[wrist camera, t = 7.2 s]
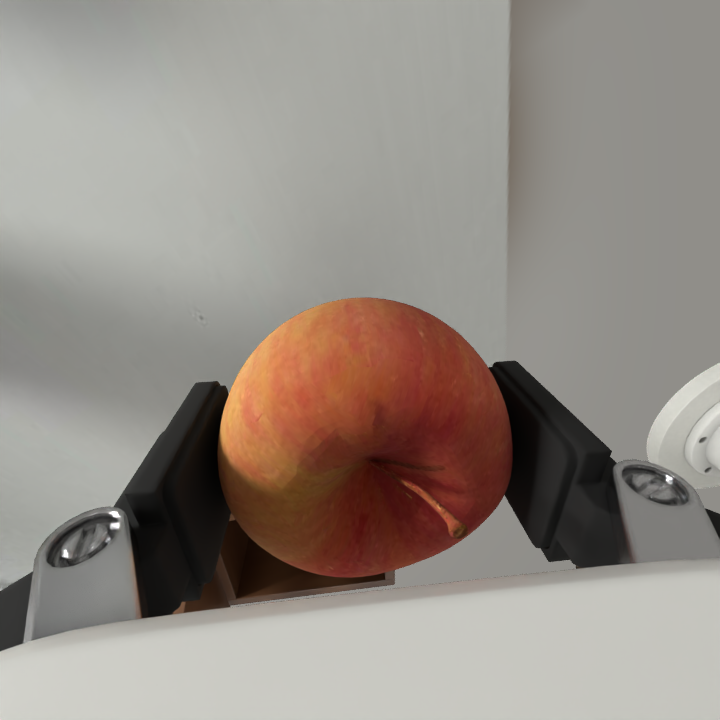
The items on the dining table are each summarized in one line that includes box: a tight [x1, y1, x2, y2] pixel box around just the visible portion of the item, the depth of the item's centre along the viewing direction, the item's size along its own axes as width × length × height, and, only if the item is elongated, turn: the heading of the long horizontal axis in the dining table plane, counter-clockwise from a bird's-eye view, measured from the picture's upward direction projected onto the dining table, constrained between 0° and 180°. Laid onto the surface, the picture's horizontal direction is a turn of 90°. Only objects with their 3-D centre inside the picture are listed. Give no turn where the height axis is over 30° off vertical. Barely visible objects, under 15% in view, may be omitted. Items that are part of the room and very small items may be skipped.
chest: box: [216, 513, 395, 605], centre depth 31 cm, size 14×11×11 cm
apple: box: [217, 298, 513, 578], centre depth 10 cm, size 7×7×8 cm
